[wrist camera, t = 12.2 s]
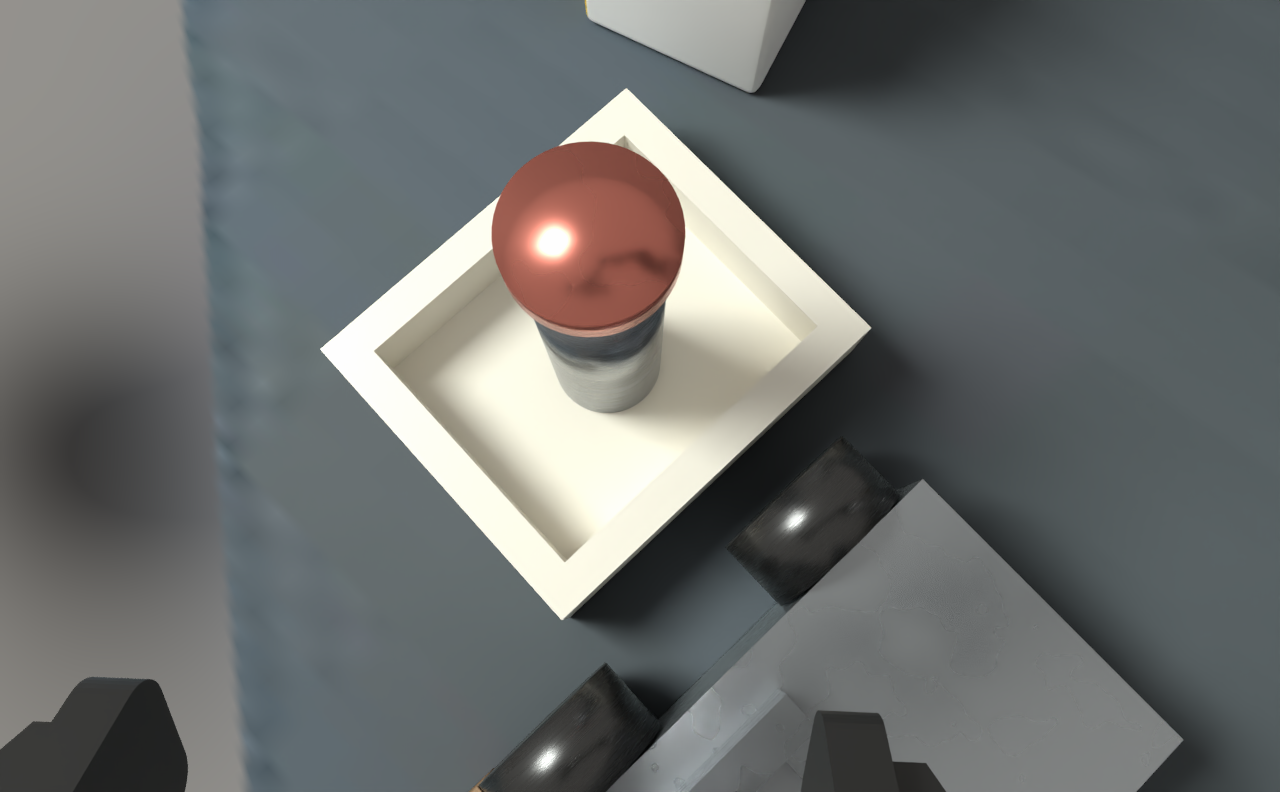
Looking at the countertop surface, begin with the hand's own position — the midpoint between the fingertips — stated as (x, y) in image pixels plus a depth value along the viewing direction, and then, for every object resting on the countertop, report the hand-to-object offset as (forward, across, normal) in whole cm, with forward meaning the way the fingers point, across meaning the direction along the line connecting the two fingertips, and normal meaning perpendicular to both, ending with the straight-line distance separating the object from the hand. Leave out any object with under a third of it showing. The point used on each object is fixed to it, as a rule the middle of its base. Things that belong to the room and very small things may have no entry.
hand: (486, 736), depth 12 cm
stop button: (+20, 0, +7) cm, 21 cm away
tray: (+21, 0, +7) cm, 22 cm away
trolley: (+12, -7, +16) cm, 21 cm away
